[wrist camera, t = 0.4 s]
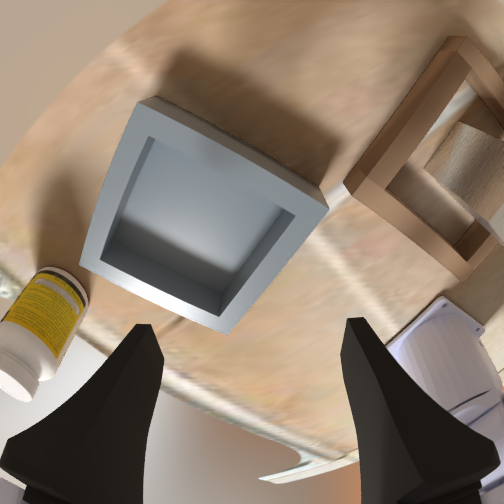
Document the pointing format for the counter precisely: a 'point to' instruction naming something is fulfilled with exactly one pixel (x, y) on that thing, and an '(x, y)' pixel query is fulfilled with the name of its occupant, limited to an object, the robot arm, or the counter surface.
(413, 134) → the brown flat square frame
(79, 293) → the supplement bottle
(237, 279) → the tray
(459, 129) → the brushed metal top block
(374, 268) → the counter surface
